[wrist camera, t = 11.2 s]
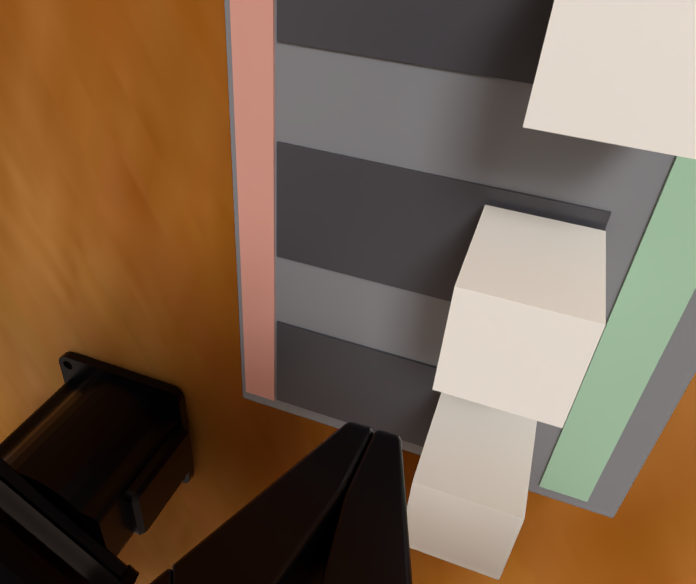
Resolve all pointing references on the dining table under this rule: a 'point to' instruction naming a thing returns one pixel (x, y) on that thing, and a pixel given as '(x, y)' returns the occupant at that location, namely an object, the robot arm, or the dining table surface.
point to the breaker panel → (437, 223)
